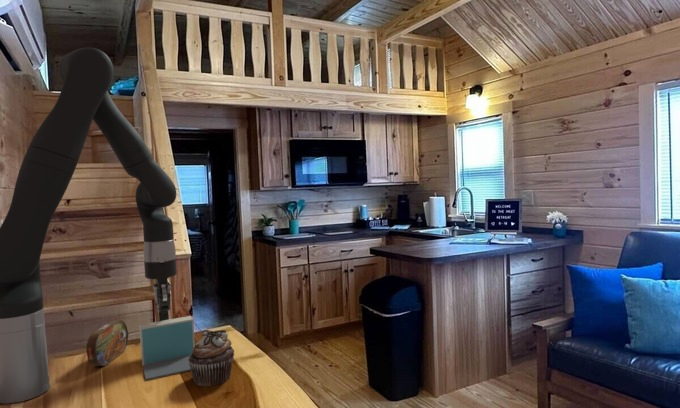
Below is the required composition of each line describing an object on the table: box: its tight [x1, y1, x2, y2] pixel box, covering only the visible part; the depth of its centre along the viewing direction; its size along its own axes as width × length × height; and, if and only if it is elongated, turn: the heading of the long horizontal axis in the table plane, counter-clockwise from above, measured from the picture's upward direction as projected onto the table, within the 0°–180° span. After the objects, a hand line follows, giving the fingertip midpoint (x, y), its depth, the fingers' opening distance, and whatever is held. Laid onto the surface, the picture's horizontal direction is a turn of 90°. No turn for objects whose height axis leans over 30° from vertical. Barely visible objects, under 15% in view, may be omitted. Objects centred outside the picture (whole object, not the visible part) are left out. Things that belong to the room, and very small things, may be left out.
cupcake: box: [188, 329, 235, 387], centre depth 98 cm, size 10×10×10 cm
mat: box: [142, 355, 191, 381], centre depth 105 cm, size 12×8×1 cm
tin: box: [85, 320, 129, 367], centre depth 111 cm, size 15×3×8 cm, turn 179°
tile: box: [138, 315, 196, 366], centre depth 110 cm, size 12×4×9 cm, turn 117°
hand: (164, 325), depth 115 cm, fingers closed
